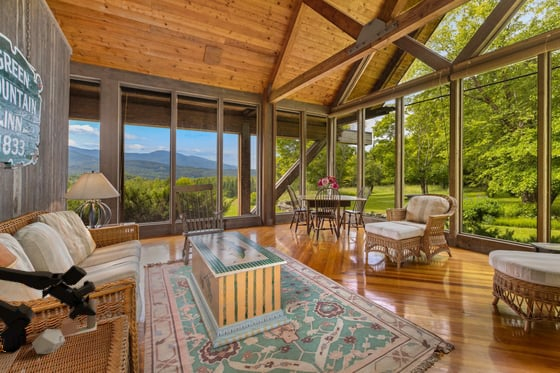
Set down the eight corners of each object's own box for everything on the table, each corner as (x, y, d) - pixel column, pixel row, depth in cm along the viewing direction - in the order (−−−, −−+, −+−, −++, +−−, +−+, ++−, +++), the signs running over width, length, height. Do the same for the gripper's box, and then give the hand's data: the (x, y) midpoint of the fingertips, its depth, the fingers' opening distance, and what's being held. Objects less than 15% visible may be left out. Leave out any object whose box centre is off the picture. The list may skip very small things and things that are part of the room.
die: (35, 365, 89) (58, 339, 92) (19, 349, 90) (43, 324, 94) (54, 358, 97) (75, 334, 100) (39, 343, 98) (61, 320, 101)
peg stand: (57, 341, 101) (58, 309, 101) (59, 332, 107) (61, 302, 107) (96, 331, 109) (98, 302, 109) (96, 324, 115) (98, 296, 115)
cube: (60, 336, 103) (61, 324, 103) (62, 330, 107) (63, 319, 107) (76, 333, 106) (76, 321, 106) (77, 327, 110) (77, 316, 110)
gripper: (81, 285, 101) (112, 306, 107) (84, 271, 116) (111, 290, 122) (54, 309, 96) (88, 329, 103) (60, 291, 111) (90, 309, 118)
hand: (95, 312), depth 111 cm, fingers closed on peg stand, 3 cm apart
